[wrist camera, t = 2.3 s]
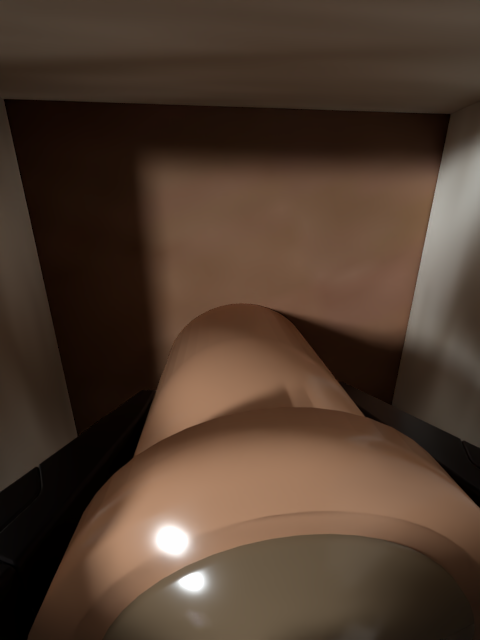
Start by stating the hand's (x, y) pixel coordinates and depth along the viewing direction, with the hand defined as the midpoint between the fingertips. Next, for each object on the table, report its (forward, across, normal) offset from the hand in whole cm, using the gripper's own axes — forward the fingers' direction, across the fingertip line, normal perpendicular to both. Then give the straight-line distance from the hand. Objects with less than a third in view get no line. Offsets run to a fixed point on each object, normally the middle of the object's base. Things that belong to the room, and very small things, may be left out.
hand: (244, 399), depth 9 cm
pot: (+2, 0, 0) cm, 2 cm away
